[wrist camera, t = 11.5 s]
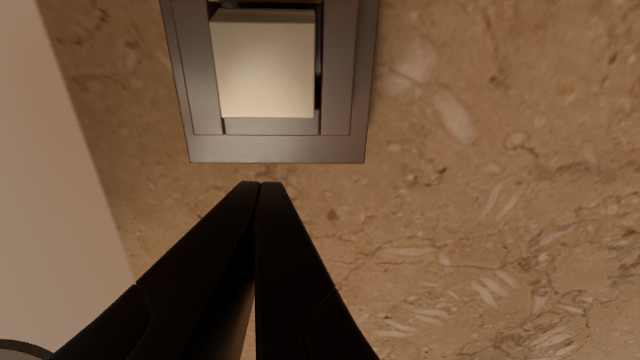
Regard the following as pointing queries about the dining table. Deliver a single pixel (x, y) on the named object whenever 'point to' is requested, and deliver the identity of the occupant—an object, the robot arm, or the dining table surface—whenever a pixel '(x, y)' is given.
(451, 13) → the dining table surface
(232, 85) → the key high
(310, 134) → the switch housing
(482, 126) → the dining table surface
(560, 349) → the dining table surface
